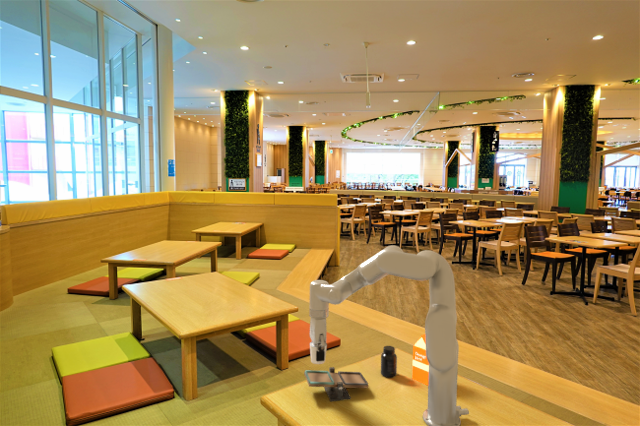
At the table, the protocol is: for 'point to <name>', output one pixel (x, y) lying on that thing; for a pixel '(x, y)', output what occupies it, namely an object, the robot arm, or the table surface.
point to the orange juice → (420, 361)
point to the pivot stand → (337, 390)
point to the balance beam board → (335, 379)
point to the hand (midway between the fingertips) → (318, 356)
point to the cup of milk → (313, 353)
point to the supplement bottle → (388, 362)
